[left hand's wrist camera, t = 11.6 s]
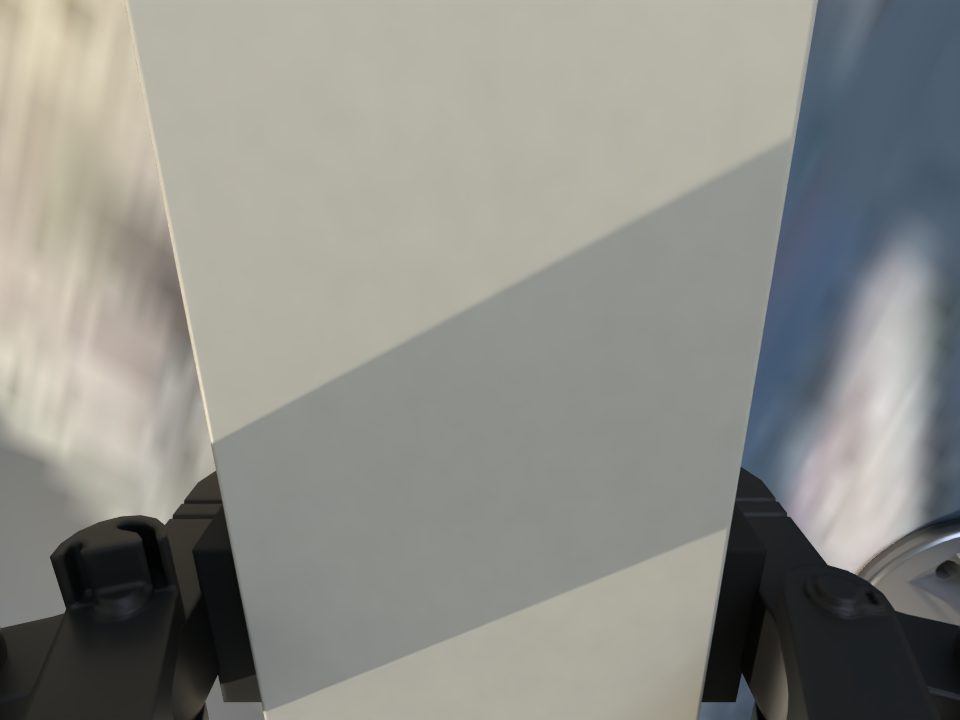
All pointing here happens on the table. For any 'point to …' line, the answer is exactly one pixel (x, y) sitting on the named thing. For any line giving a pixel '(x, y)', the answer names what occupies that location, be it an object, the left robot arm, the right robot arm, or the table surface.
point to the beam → (476, 332)
